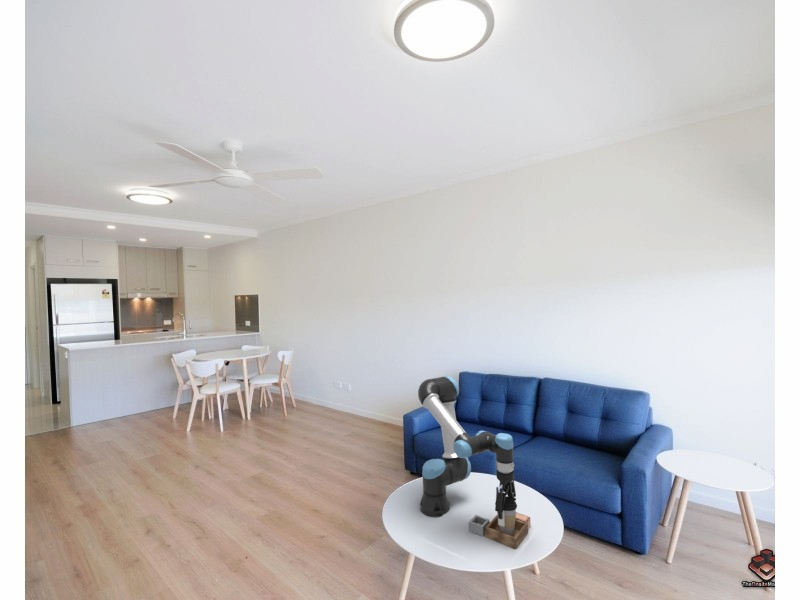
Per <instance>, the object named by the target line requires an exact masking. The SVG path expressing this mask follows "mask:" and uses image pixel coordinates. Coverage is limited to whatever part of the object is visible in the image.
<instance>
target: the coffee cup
mask: <svg viewBox="0 0 800 600" xmlns="http://www.w3.org/2000/svg"><path fill="white" fill-rule="evenodd" d="M495 505H496V501H495V503H494V506H495ZM517 508H518V504H517V502H516V501H515V500H514V499H513V498H511V497H508V495H506V497H505V503H504V509H503V511H504V516H505V526H504V527H503V526H501V525H499V528H500V532H502V533H504V534H507V535H509V536H512V537H513V536H514V527H515V518H516V512H517V511H516V510H517ZM496 512H497V511H496ZM496 514H498V512H497V513H496Z"/></svg>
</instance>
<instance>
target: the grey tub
mask: <svg viewBox="0 0 800 600" xmlns="http://www.w3.org/2000/svg"><path fill="white" fill-rule="evenodd" d="M490 522H491V520H490V519H488V518H486V517H483V516H480V515H477V514H475V515H474V516H473V517H472V518H471V519H469V521H468V532H470V533H472V534H475V535H478V536H480V537H484V536H485V527H486V526H487V525H488V524H489V523H490ZM477 523H481V524H482V525H479V524H477Z"/></svg>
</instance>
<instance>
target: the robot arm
mask: <svg viewBox="0 0 800 600" xmlns="http://www.w3.org/2000/svg"><path fill="white" fill-rule="evenodd" d="M459 393H460V387H459V384H458V382H457V380H455V378H453V377H452V376H448V375H447V376H439V377H434V378H428V379H425V380H423V381H422V382H421V384H420V385H419V387H418V391H417V395H418V396H417V397H418V400H419V402H420V404H421V405H422V407H423V408H424V409H426V410H428V411H429V413H430V414H431V415H432V417H433V418H434V419H435V420H436V421H437V423H438V424H439V425H440V430H441V435H442V442H443V449H444V453H443V454H442V459H441V458H436V459H435V458H432V459H429V460H426V461H425V463H423V466H422V473H421V475H422V490H423V491H422V495H421V496H422V497H421V500H420V504H419V505H420V506H419V509H420V512H422V513H423V514H424V515H426V516H427V517H434V518H438V517H442V516H444V515H446V514H447V513H449V511H450V509H451V504H450V501H449V497H448V495H447V486H450V485H453V484H455V483H458V482H463V481H464V480H466V479H468V478H469V477H470V475H471V472H472V464H471V462H470V460H469V458H470V457H471V456H475V455H478V454H481V453H485V452H491V453H493V454H495V467H496V470H495V473H496V478H497V480H498V481H499V486H496V488H495V489H496V494H495V502H496V505H495V504H494V506H495V507H494V511H495V512H498V525H501V526H503V527H504V526H505V516H504V511H503V509H504V503H505V497H506V496H508V497H511V498H513V499H514V500H515V502H516V500H517V498H516V496H517V492H516V486H515V472H514V471H515V470H514V469H515V468H514V467H515V464H514V440H513V439H514V438H513V436H512V435H511V434H509V433H503V432H499V433H497V434H493V433H491V432H490V431H485V430H479V431H478V432H476V434H475V435H474V436H470V435H469V434H468V433H467V432H466V431H465V430H464V428H463V426H461V424H460V423H459V422H458V421H457V417H456V410H455V403H456V402H457V397H458V395H459Z"/></svg>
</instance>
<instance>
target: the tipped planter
mask: <svg viewBox="0 0 800 600" xmlns="http://www.w3.org/2000/svg"><path fill="white" fill-rule="evenodd" d="M515 519H517V520H519V521H522V522H525V523H528V530H529V529H530V528H531V517H530V516H528V515H525V514H522V513H520V512H517V511H516V518H515Z"/></svg>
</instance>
